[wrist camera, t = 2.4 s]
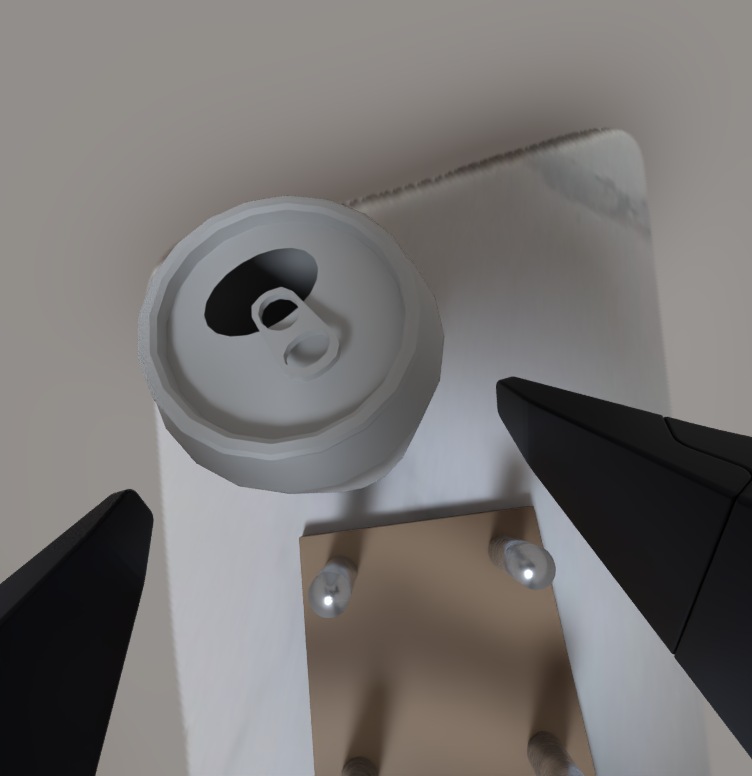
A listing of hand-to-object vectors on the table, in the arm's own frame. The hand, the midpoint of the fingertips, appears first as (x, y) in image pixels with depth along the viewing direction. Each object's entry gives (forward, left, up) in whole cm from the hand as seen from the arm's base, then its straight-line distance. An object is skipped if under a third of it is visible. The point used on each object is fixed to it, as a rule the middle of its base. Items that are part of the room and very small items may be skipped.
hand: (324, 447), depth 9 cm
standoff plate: (-8, -3, -10) cm, 13 cm away
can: (+3, 0, -10) cm, 11 cm away
